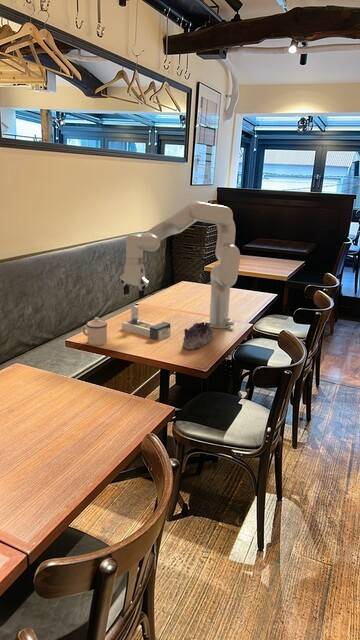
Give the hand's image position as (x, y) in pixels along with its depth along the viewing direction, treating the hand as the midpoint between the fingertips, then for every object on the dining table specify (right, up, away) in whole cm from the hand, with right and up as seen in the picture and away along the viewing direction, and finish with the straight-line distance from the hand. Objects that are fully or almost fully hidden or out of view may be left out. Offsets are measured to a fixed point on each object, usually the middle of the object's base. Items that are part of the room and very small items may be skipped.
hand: (133, 296), depth 218 cm
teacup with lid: (-16, -22, -13) cm, 30 cm away
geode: (+30, -23, -11) cm, 39 cm away
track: (+6, -17, +1) cm, 18 cm away
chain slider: (+2, -15, +4) cm, 15 cm away
